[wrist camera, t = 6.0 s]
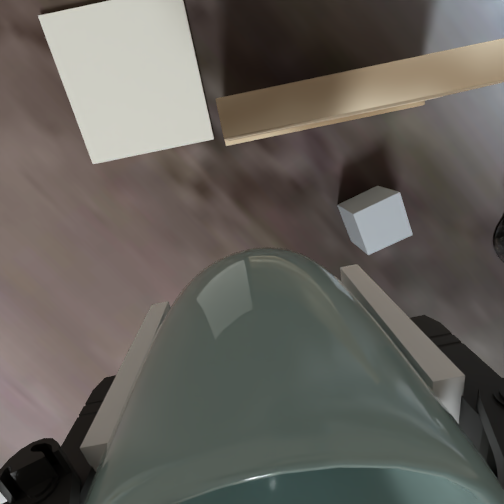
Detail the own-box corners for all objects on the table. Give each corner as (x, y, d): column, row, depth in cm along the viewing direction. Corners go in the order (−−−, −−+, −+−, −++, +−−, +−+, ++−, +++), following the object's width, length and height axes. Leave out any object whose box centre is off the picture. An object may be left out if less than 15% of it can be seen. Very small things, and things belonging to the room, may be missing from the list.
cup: (147, 259, 13) (-71, 558, 4) (314, 199, 12) (546, 377, 3) (213, 383, 16) (183, 732, 7) (352, 339, 15) (537, 653, 6)
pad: (42, 18, 27) (37, 15, 26) (180, -12, 27) (179, -15, 26) (95, 163, 31) (92, 164, 31) (214, 139, 31) (213, 139, 31)
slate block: (337, 204, 34) (353, 214, 30) (377, 185, 34) (399, 191, 29) (350, 240, 36) (368, 255, 31) (389, 222, 36) (412, 234, 31)
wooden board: (220, 117, 30) (206, 91, 15) (417, 76, 30) (598, 9, 15) (226, 145, 31) (218, 147, 16) (417, 106, 31) (587, 70, 16)
